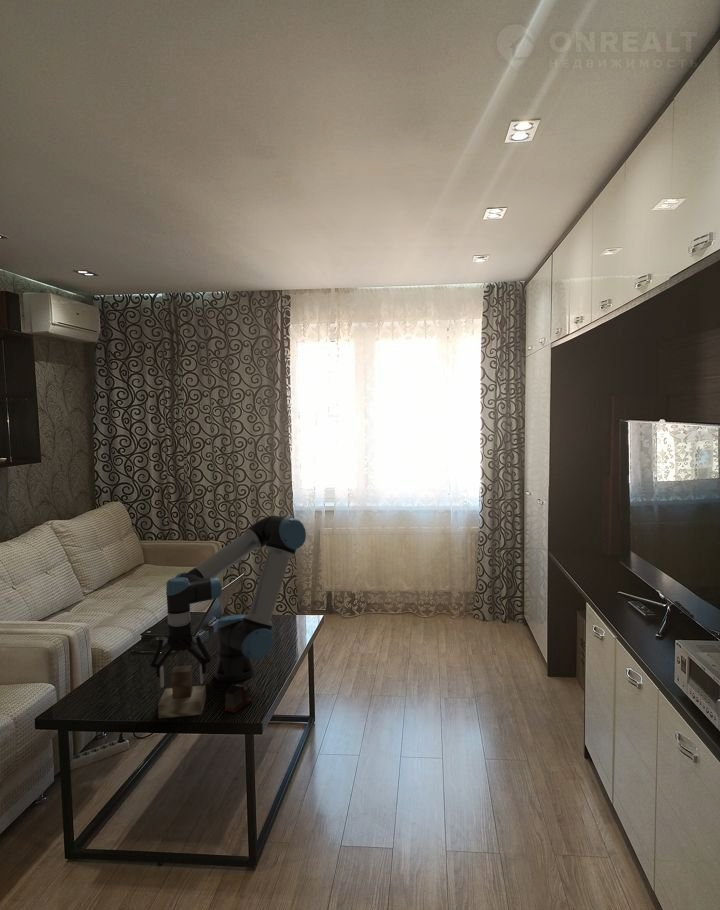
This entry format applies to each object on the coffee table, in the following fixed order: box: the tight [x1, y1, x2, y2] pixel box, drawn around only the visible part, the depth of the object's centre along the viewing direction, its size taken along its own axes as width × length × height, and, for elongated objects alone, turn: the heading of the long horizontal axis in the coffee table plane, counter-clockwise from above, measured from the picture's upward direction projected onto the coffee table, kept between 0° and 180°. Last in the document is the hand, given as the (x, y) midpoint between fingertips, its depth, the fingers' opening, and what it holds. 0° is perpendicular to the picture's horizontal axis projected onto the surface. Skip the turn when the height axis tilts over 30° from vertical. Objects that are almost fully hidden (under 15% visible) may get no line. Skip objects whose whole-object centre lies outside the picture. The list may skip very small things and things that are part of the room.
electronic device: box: [224, 683, 254, 714], centre depth 221 cm, size 4×10×8 cm, turn 149°
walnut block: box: [171, 664, 193, 699], centre depth 222 cm, size 6×6×9 cm
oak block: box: [157, 684, 207, 719], centre depth 222 cm, size 14×14×5 cm
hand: (182, 684), depth 222 cm, fingers open, 13 cm apart
